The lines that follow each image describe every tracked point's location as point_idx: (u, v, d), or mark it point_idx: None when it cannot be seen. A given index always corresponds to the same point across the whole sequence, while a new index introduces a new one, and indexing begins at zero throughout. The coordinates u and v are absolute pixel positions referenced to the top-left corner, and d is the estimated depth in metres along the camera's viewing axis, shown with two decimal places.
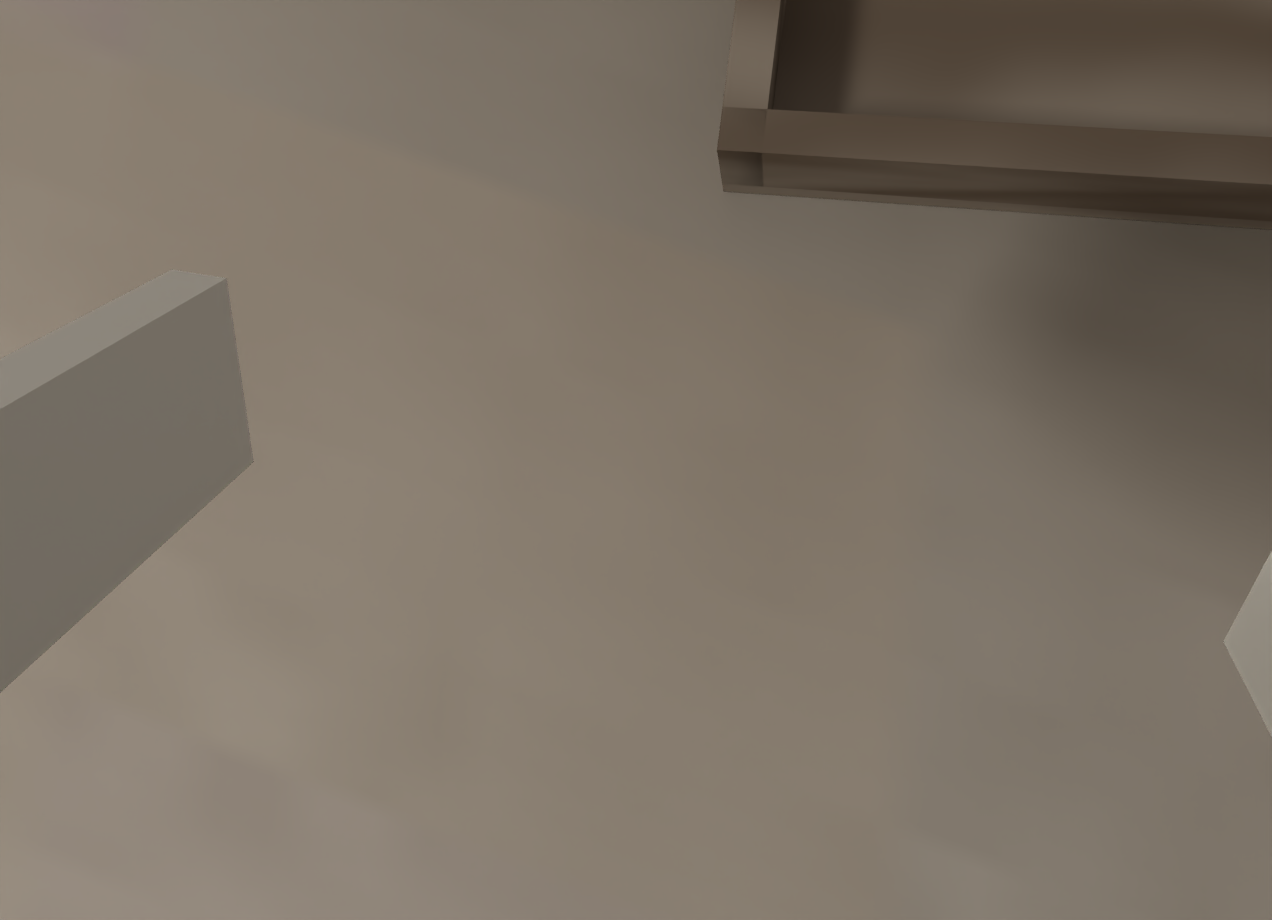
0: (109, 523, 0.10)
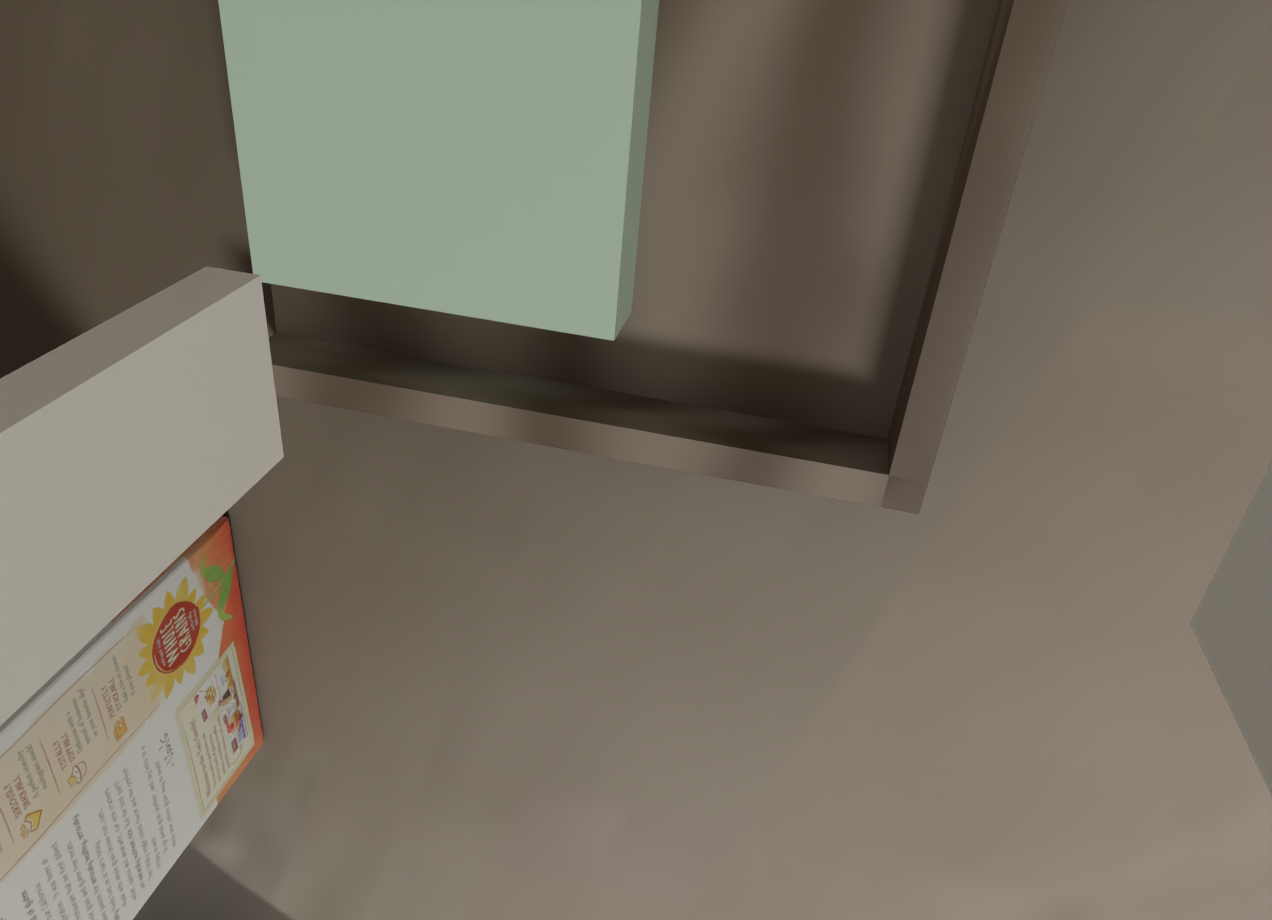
0: (148, 516, 0.11)
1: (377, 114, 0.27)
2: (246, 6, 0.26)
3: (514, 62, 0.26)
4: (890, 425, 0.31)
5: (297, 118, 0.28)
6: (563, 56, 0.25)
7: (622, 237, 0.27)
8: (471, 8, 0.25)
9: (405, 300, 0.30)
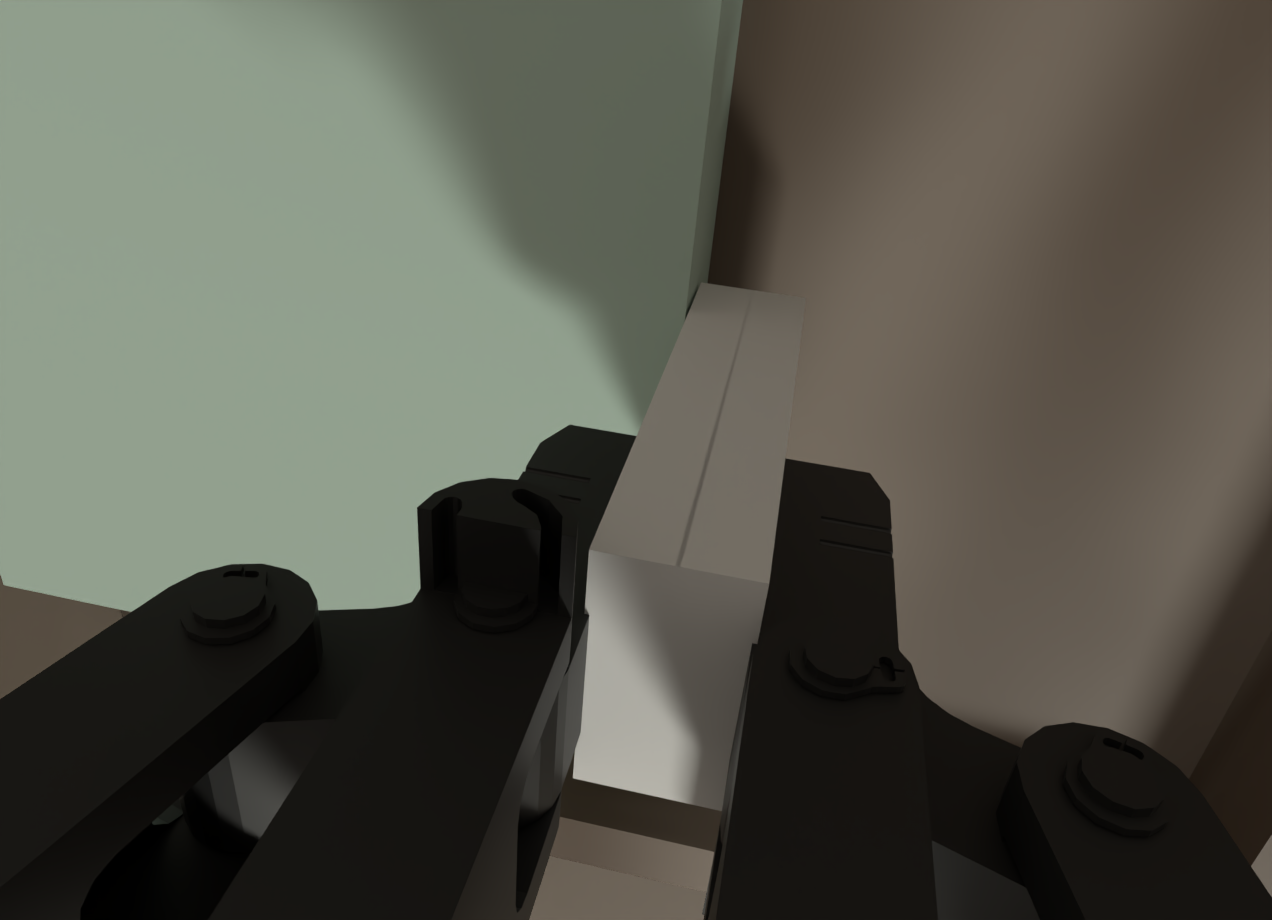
0: None
1: (180, 336, 0.14)
2: None
3: (437, 254, 0.12)
4: None
5: (35, 337, 0.14)
6: (537, 246, 0.12)
7: None
8: (343, 149, 0.12)
9: None
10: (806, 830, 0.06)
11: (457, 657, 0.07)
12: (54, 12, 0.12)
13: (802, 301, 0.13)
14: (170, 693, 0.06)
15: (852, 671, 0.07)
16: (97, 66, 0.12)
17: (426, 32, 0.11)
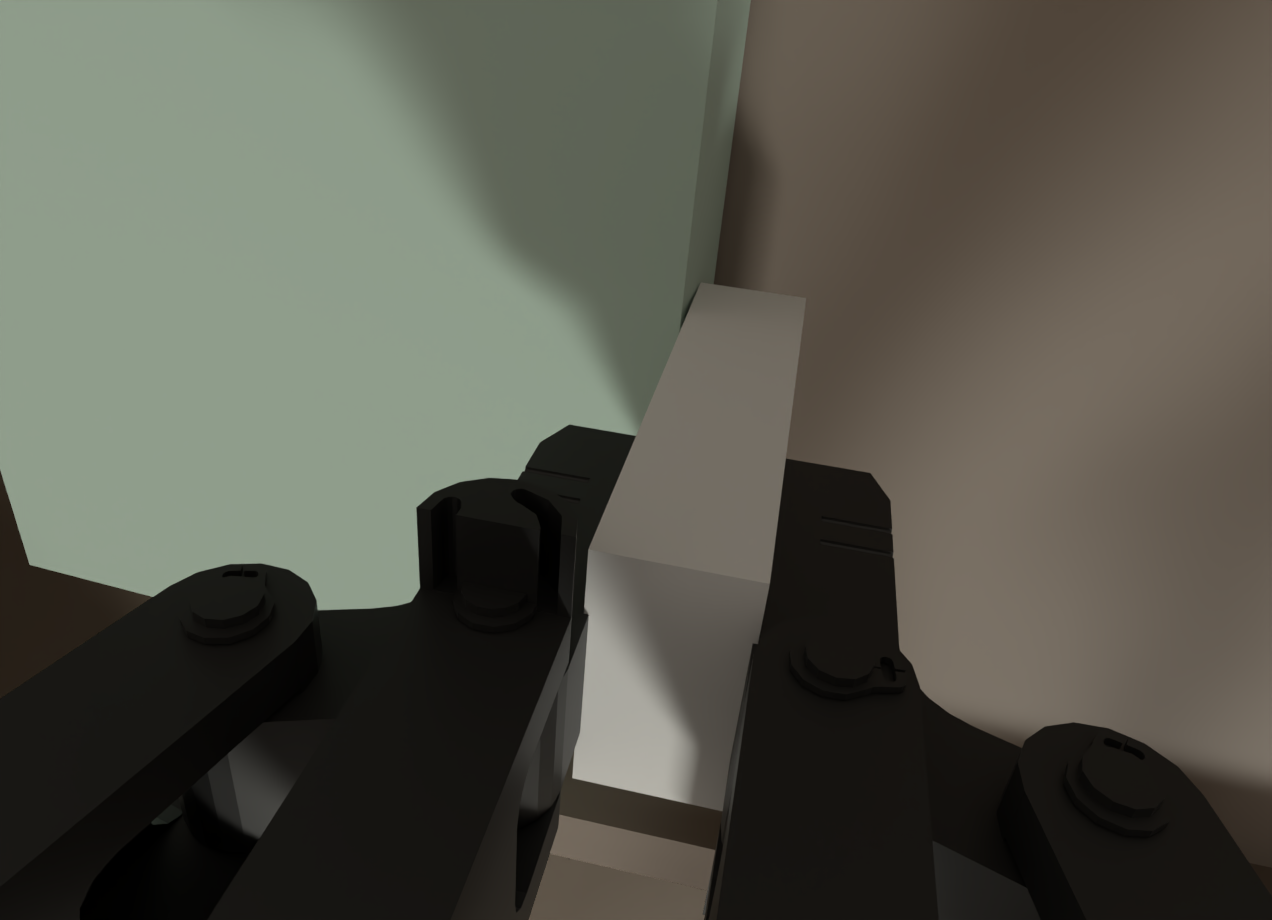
0: None
1: (193, 328, 0.14)
2: None
3: (439, 254, 0.13)
4: None
5: (58, 325, 0.15)
6: (536, 248, 0.12)
7: None
8: (348, 148, 0.12)
9: None
10: (807, 830, 0.06)
11: (457, 657, 0.07)
12: (77, 11, 0.12)
13: (802, 301, 0.13)
14: (170, 693, 0.06)
15: (852, 671, 0.07)
16: (117, 65, 0.12)
17: (428, 35, 0.11)
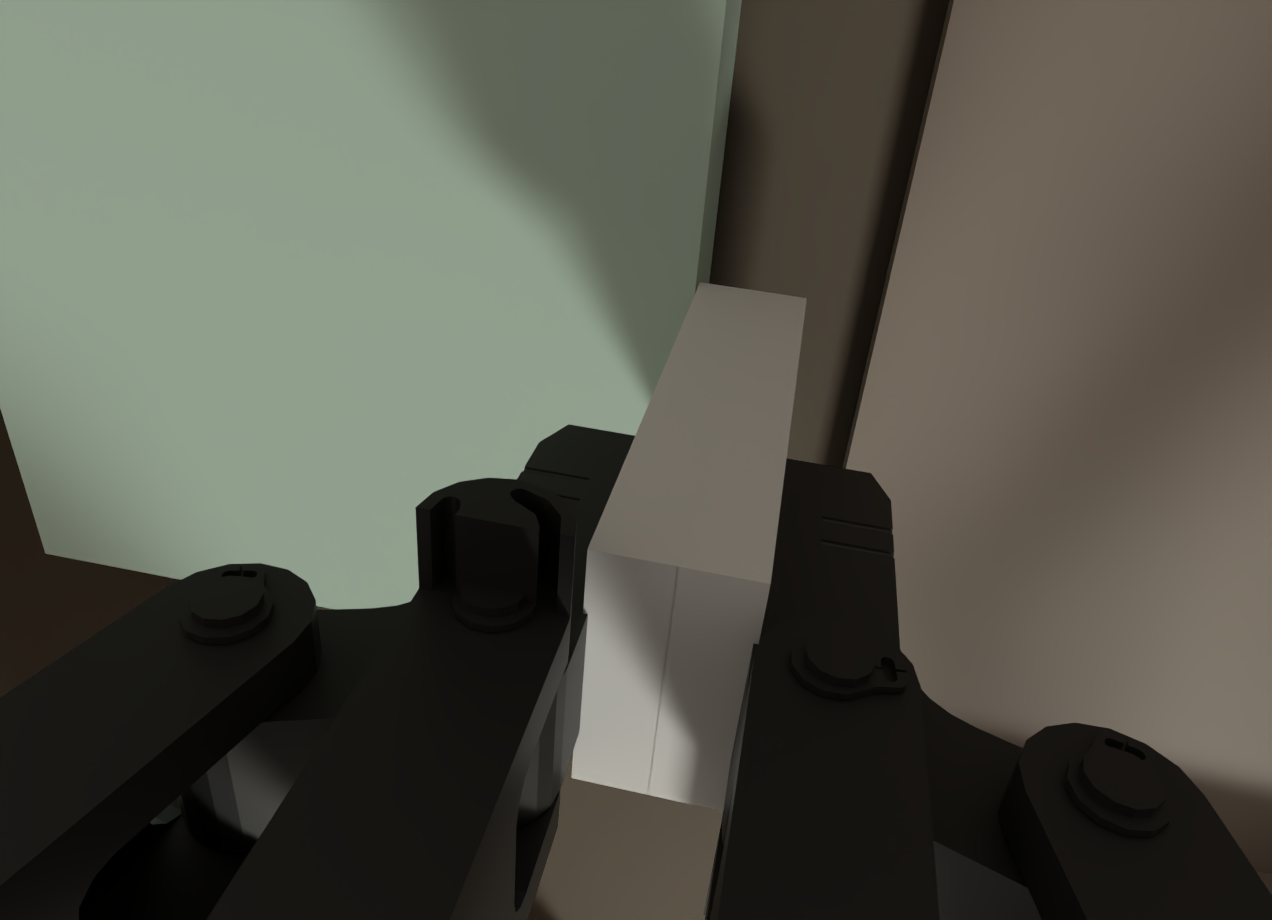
0: None
1: (218, 307, 0.15)
2: None
3: (463, 224, 0.13)
4: None
5: (79, 312, 0.15)
6: (556, 214, 0.13)
7: None
8: (372, 125, 0.13)
9: None
10: (808, 830, 0.06)
11: (456, 657, 0.07)
12: None
13: (803, 301, 0.13)
14: (168, 693, 0.06)
15: (854, 671, 0.07)
16: (141, 50, 0.13)
17: (452, 12, 0.12)
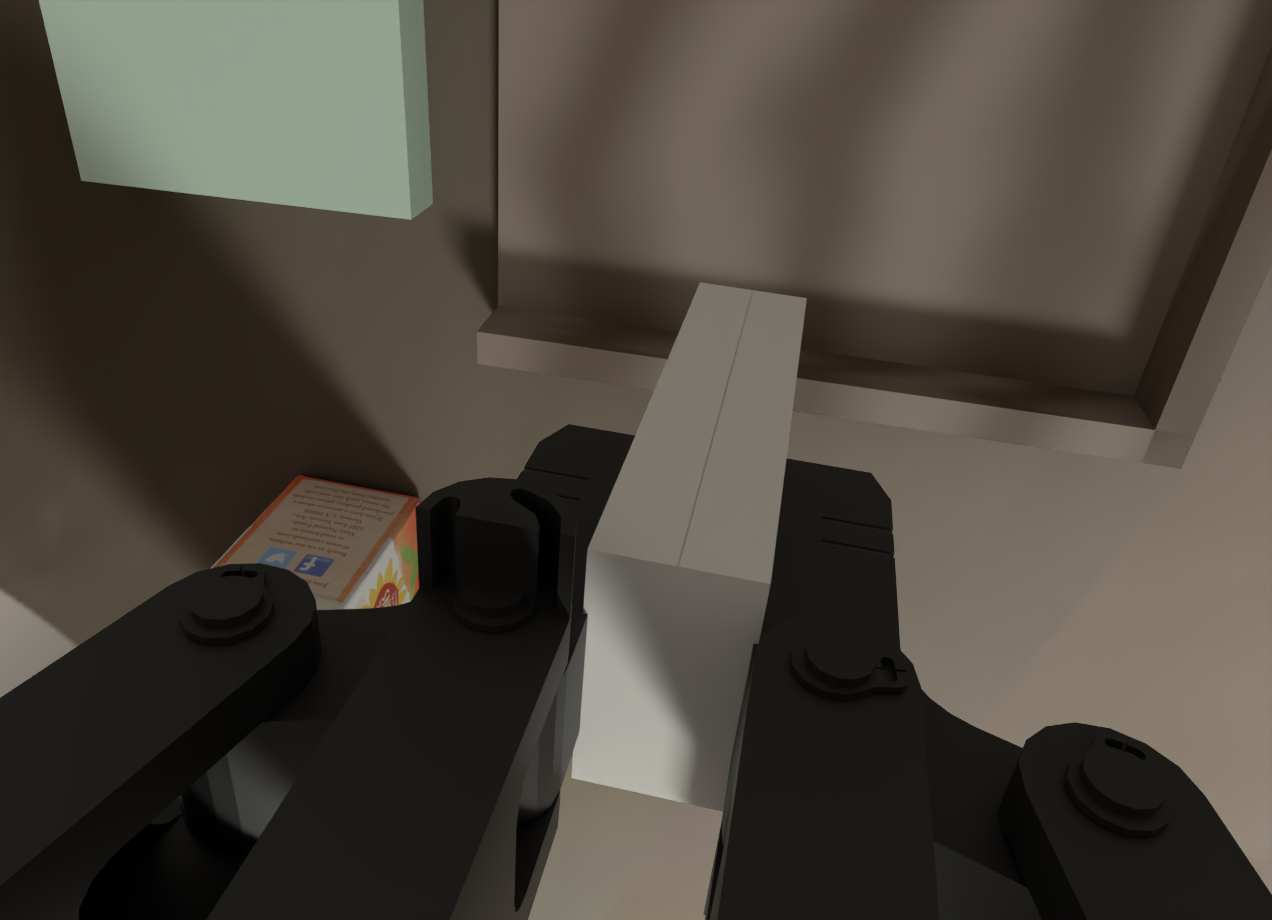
0: None
1: (172, 10, 0.29)
2: None
3: None
4: (1139, 382, 0.31)
5: (102, 18, 0.30)
6: None
7: (405, 118, 0.30)
8: None
9: (220, 191, 0.32)
10: (808, 830, 0.06)
11: (456, 657, 0.07)
12: None
13: (803, 301, 0.13)
14: (169, 693, 0.06)
15: (854, 671, 0.07)
16: None
17: None
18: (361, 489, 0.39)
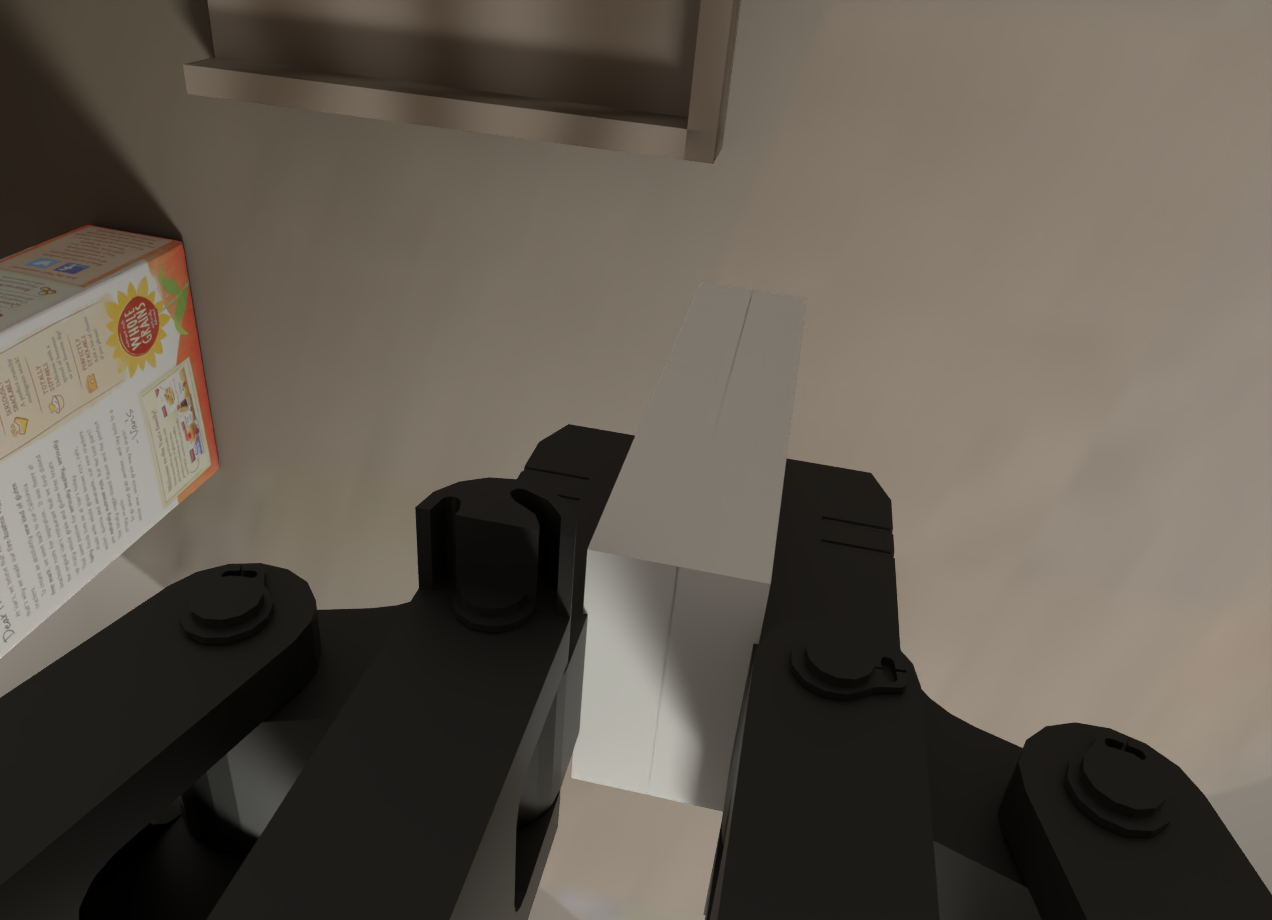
0: None
1: None
2: None
3: None
4: None
5: None
6: None
7: None
8: None
9: None
10: (808, 830, 0.06)
11: (455, 657, 0.07)
12: None
13: (803, 301, 0.13)
14: (169, 693, 0.06)
15: (854, 671, 0.07)
16: None
17: None
18: (135, 234, 0.48)
